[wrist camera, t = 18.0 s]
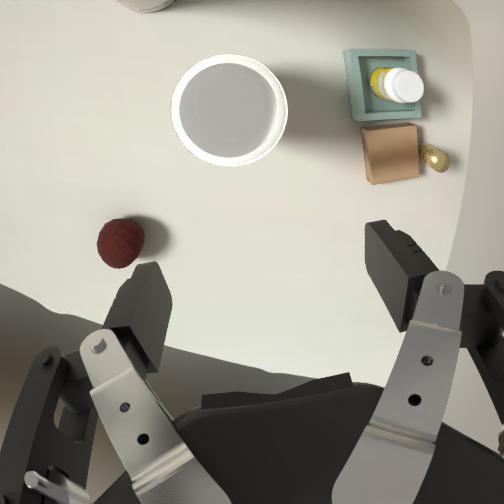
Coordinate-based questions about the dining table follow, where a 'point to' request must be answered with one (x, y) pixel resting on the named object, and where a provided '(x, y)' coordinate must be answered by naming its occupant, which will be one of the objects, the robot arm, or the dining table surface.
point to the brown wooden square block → (390, 152)
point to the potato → (120, 242)
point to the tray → (360, 95)
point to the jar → (228, 110)
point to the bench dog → (433, 157)
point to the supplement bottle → (395, 84)
